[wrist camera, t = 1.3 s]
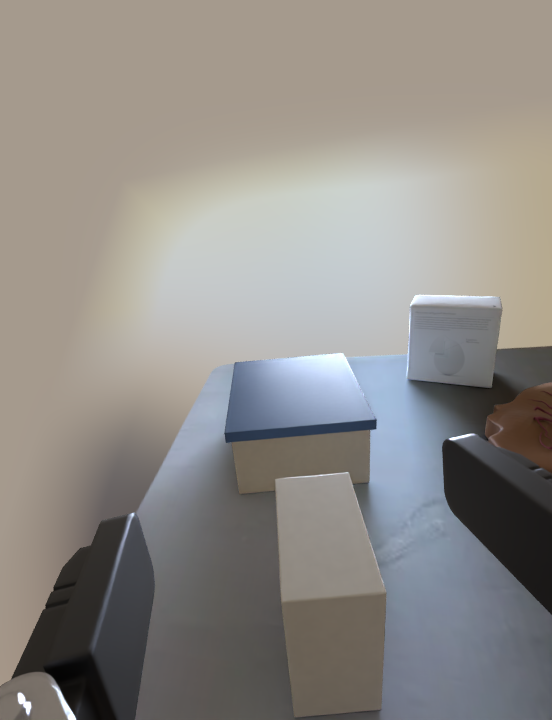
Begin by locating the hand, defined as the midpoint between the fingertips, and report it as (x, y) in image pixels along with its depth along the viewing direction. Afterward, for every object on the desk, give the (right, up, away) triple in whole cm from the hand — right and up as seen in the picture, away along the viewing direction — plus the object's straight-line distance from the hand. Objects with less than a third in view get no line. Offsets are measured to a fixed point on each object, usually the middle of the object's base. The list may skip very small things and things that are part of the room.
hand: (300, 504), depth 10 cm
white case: (+2, -13, +14) cm, 20 cm away
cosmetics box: (+23, +2, +45) cm, 50 cm away
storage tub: (+2, -5, +33) cm, 33 cm away
